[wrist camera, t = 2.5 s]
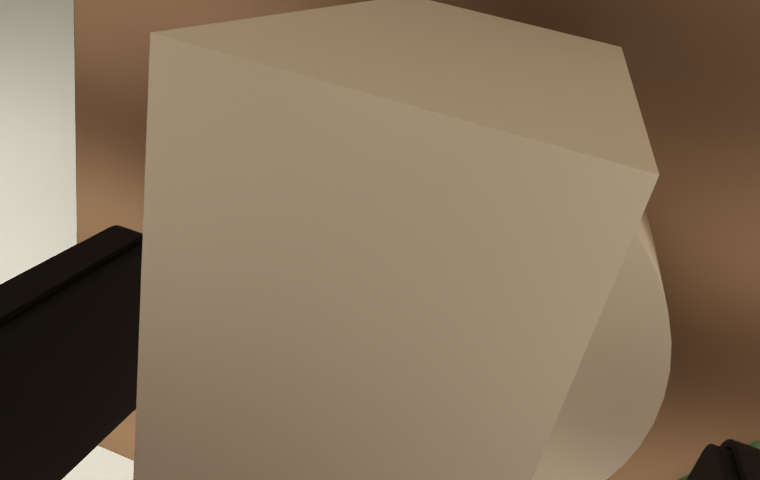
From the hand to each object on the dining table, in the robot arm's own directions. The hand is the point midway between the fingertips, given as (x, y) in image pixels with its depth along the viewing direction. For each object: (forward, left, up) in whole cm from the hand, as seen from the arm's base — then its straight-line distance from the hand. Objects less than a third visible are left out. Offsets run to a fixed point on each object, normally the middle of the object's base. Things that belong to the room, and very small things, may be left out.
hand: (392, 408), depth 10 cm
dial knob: (+3, 0, -5) cm, 6 cm away
